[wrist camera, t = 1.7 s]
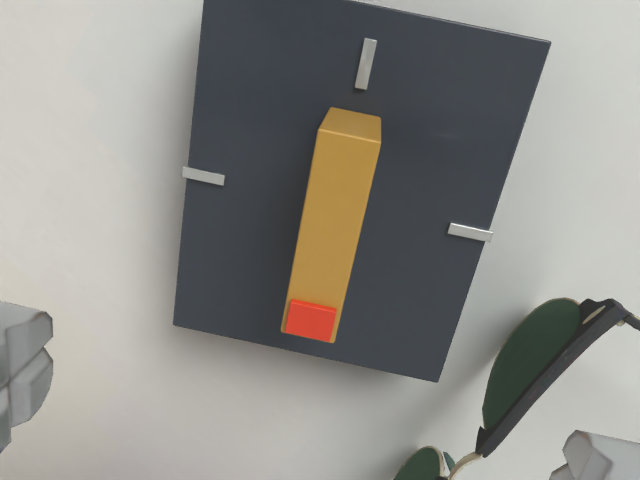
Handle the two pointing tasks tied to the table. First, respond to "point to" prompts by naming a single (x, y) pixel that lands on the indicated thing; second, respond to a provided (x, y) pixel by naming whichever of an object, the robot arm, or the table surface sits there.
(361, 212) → the yellow block
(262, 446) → the table surface
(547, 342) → the sunglasses
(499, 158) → the dark grey square block
